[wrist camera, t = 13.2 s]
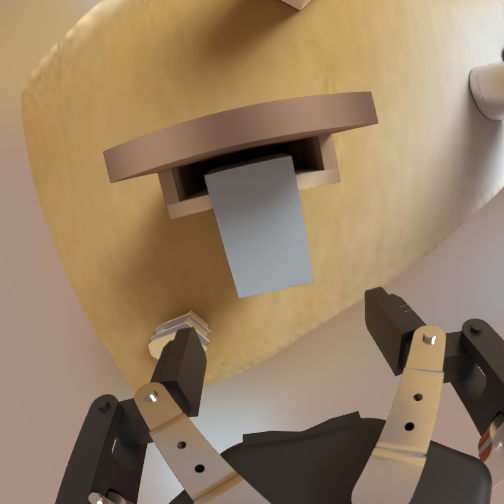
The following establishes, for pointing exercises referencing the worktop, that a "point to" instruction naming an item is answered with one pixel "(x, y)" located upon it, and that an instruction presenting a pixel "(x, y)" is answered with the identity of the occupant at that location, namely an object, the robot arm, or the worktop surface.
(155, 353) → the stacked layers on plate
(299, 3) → the milk carton
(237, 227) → the blue-grey block
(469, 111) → the worktop surface
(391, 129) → the worktop surface
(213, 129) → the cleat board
